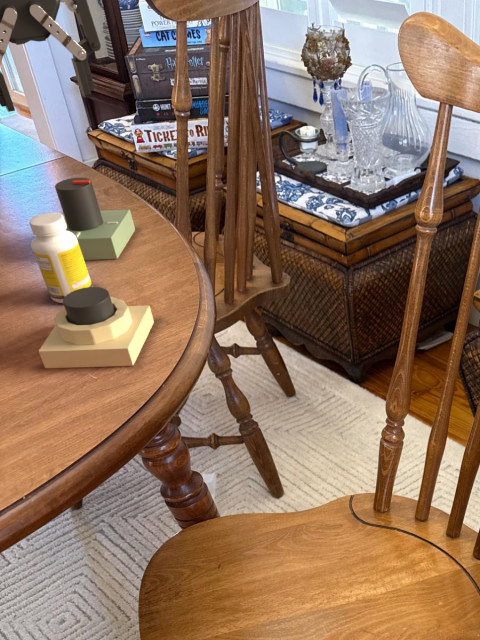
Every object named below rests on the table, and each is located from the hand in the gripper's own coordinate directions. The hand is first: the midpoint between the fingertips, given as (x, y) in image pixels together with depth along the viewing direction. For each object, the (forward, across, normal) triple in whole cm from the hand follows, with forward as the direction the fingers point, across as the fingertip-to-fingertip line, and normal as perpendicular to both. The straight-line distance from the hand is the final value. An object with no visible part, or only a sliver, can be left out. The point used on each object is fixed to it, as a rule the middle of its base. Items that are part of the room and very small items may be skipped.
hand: (49, 103), depth 89 cm
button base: (+21, +5, +17) cm, 28 cm away
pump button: (+18, +5, +17) cm, 25 cm away
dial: (+18, -1, -12) cm, 22 cm away
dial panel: (+21, -1, -12) cm, 24 cm away
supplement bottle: (+21, +5, +2) cm, 22 cm away
